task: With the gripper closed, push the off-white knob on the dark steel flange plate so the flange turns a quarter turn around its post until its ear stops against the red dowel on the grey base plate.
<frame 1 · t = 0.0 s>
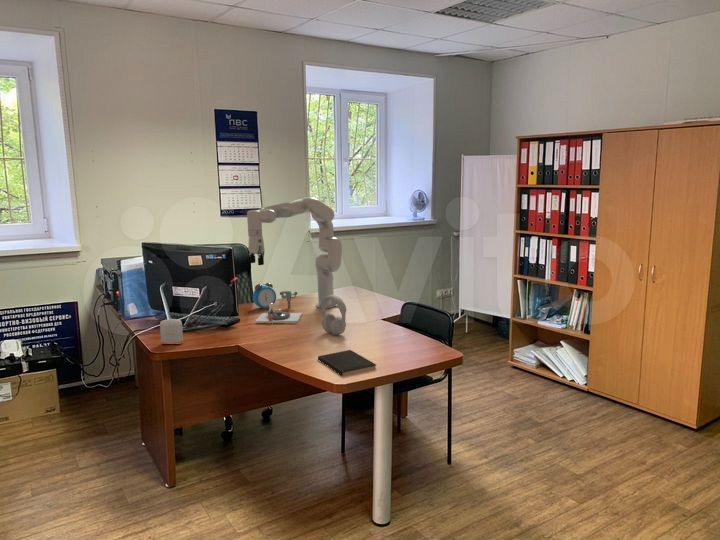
hand: (256, 263, 304), 31 cm above the table, tool pointing down, fingers open, 9 cm apart
mechanical component: (289, 308, 333), on the table
headphones: (334, 334, 277), on the table
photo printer: (172, 344, 266), on the table
base plate: (279, 319, 306), on the table
hardcover book: (346, 365, 233), on the table
flange: (277, 310, 307), point 5 cm above the table, hinge at 0.0°
alarm clock: (264, 308, 335), on the table
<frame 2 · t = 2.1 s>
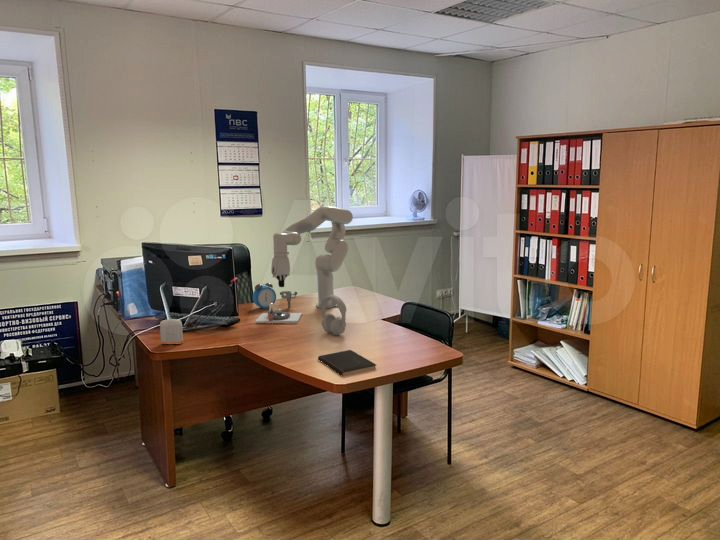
hand: (281, 286, 314), 16 cm above the table, tool pointing down, fingers closed
nothing on the table moved.
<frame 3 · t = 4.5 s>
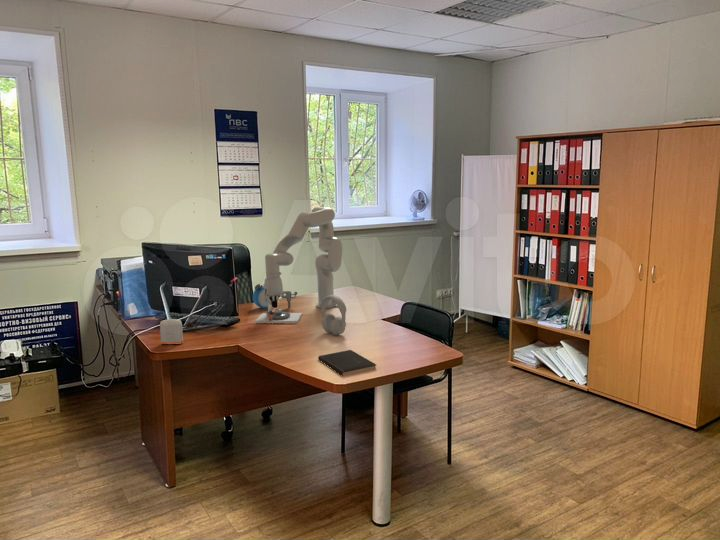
hand: (274, 307, 313), 5 cm above the table, tool pointing down, fingers closed
flange: (277, 310, 307), point 5 cm above the table, hinge at 6.6°, touching gripper
everything else where it was.
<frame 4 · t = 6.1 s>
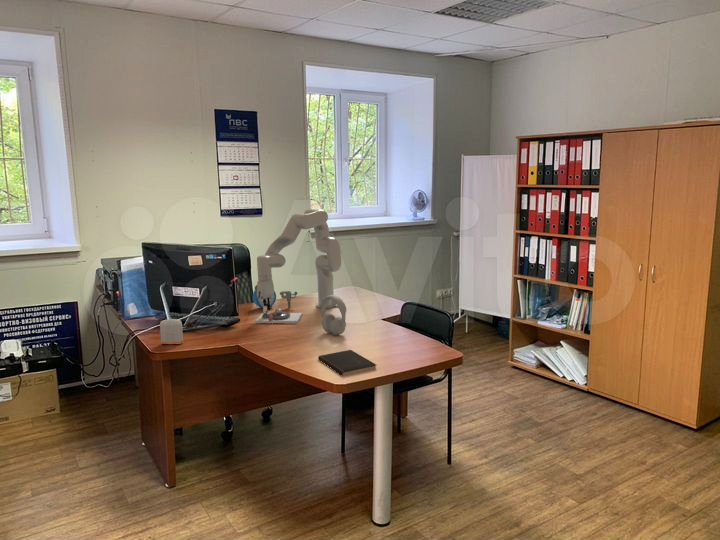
hand: (267, 309, 309), 5 cm above the table, tool pointing down, fingers closed
flange: (276, 311, 306), point 5 cm above the table, hinge at 50.3°, touching gripper
everything else where it was.
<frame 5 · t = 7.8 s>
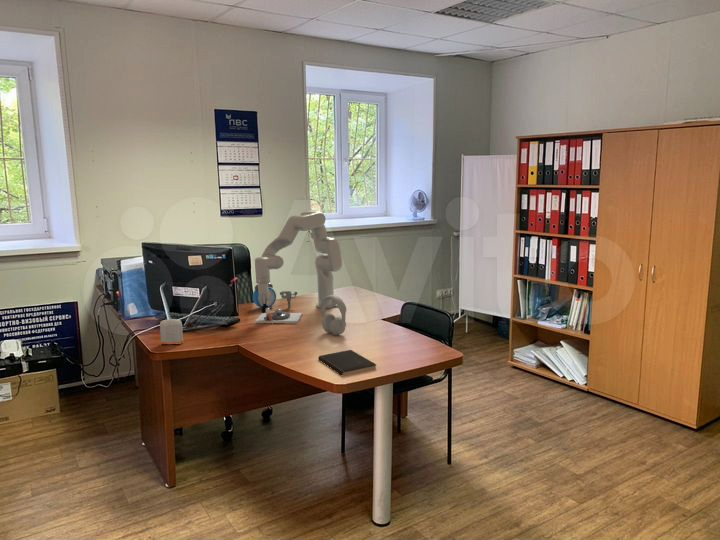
hand: (265, 312, 303), 5 cm above the table, tool pointing down, fingers closed
flange: (276, 311, 304), point 5 cm above the table, hinge at 92.5°, touching base plate, gripper
everything else where it was.
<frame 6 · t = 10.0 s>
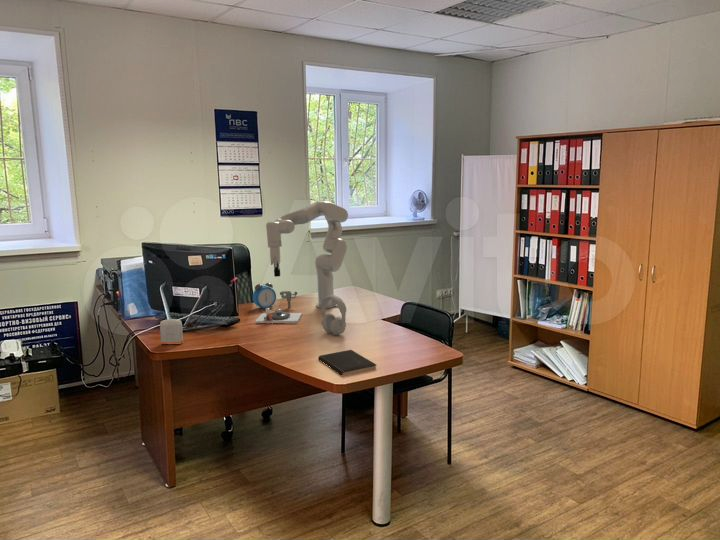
hand: (277, 276, 310), 23 cm above the table, tool pointing down, fingers closed
flange: (276, 311, 304), point 5 cm above the table, hinge at 92.5°, touching base plate
everything else where it was.
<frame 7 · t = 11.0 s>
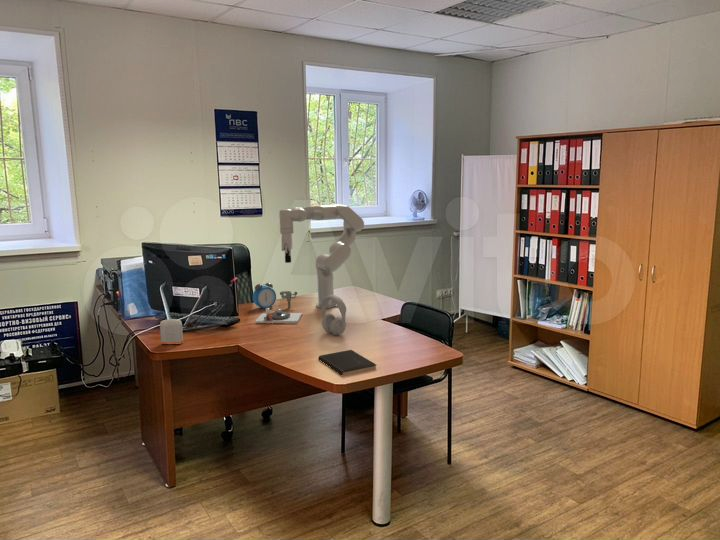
hand: (288, 262, 320), 29 cm above the table, tool pointing down, fingers closed
nothing on the table moved.
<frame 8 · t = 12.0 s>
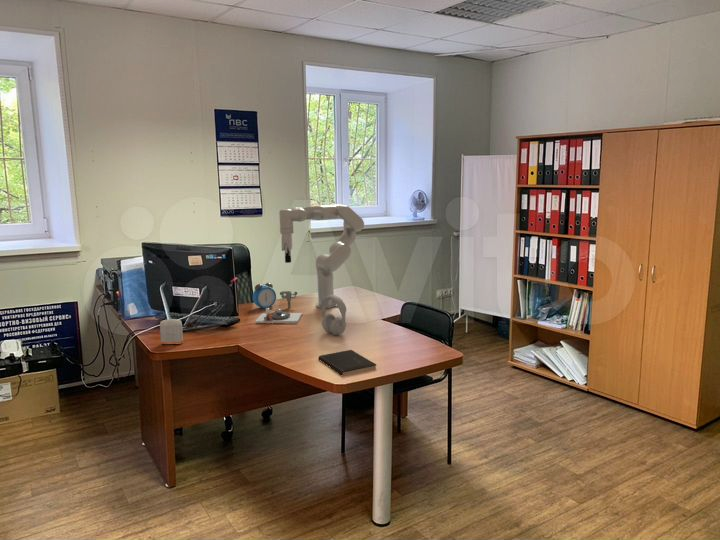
hand: (288, 262, 320), 29 cm above the table, tool pointing down, fingers closed
nothing on the table moved.
at the end: flange at +92° (first picture: +0°); mechanical component moved 0.2 cm from its start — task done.
